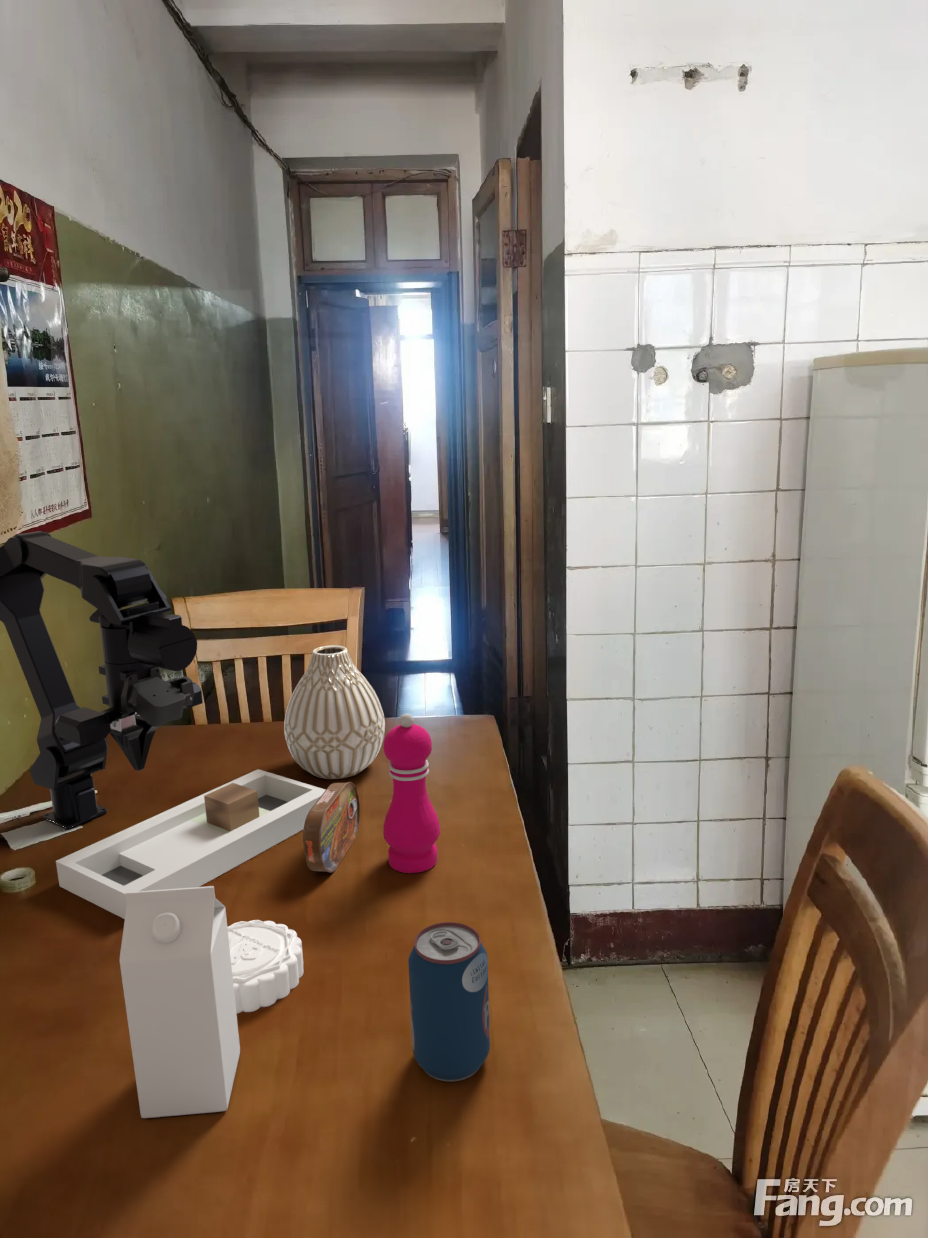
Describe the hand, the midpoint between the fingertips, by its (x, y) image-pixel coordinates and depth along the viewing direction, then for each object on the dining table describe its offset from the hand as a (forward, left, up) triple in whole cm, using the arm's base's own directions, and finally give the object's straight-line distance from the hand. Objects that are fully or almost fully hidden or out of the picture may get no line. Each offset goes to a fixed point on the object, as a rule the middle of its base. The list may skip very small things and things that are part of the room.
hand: (139, 769), depth 120 cm
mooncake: (+34, -13, -11) cm, 38 cm away
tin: (+24, +11, -11) cm, 29 cm away
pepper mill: (+34, +15, -11) cm, 39 cm away
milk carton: (+42, -26, -11) cm, 51 cm away
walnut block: (+8, +8, -9) cm, 14 cm away
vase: (+5, +32, -11) cm, 34 cm away
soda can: (+59, -11, -11) cm, 61 cm away
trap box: (+8, +3, -11) cm, 14 cm away
